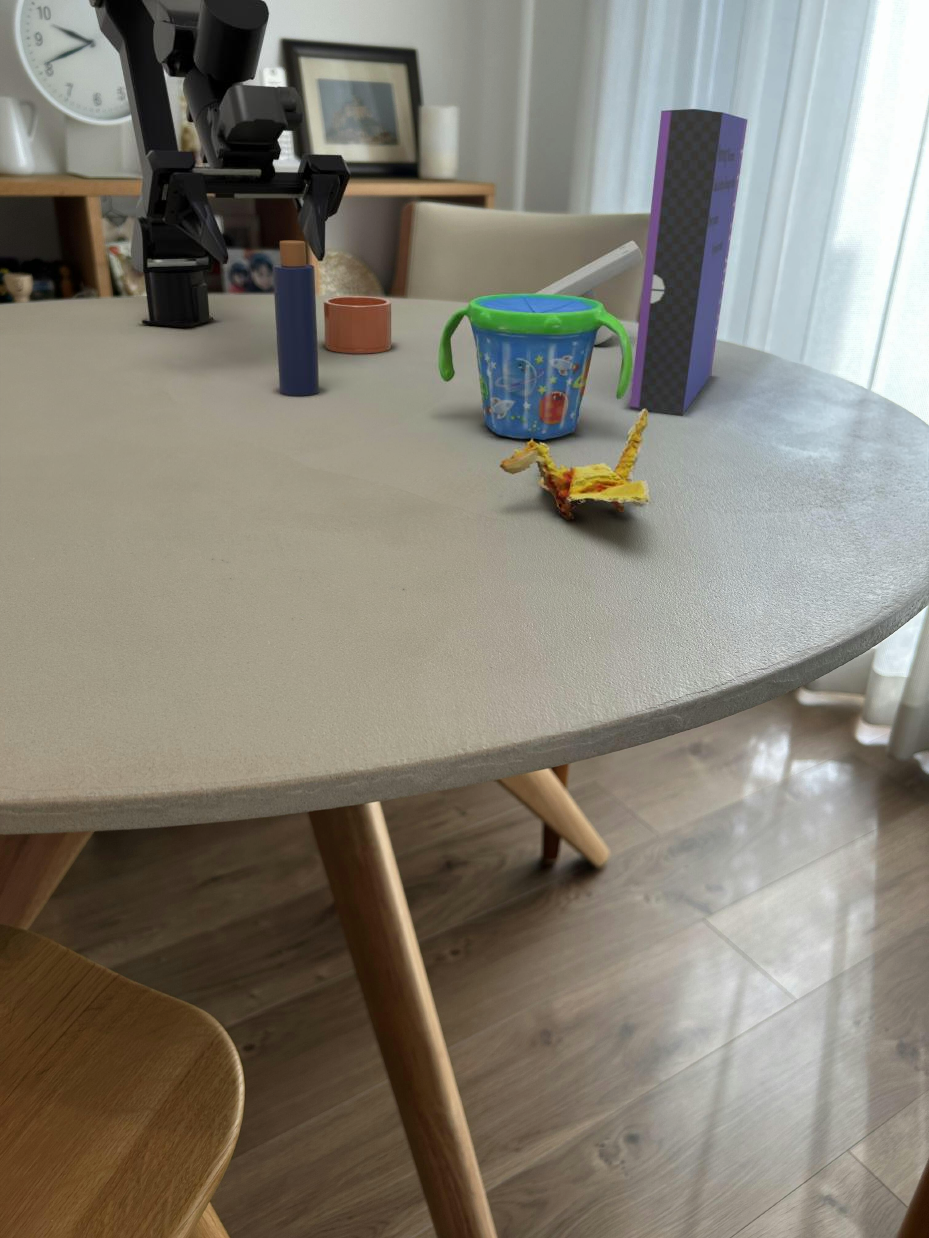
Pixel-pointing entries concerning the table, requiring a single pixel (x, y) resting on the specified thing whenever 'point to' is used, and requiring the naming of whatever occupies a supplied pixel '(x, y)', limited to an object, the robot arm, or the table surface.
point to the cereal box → (686, 256)
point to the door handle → (597, 278)
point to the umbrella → (296, 321)
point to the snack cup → (534, 359)
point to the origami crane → (587, 474)
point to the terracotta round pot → (357, 324)
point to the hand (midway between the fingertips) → (275, 259)
